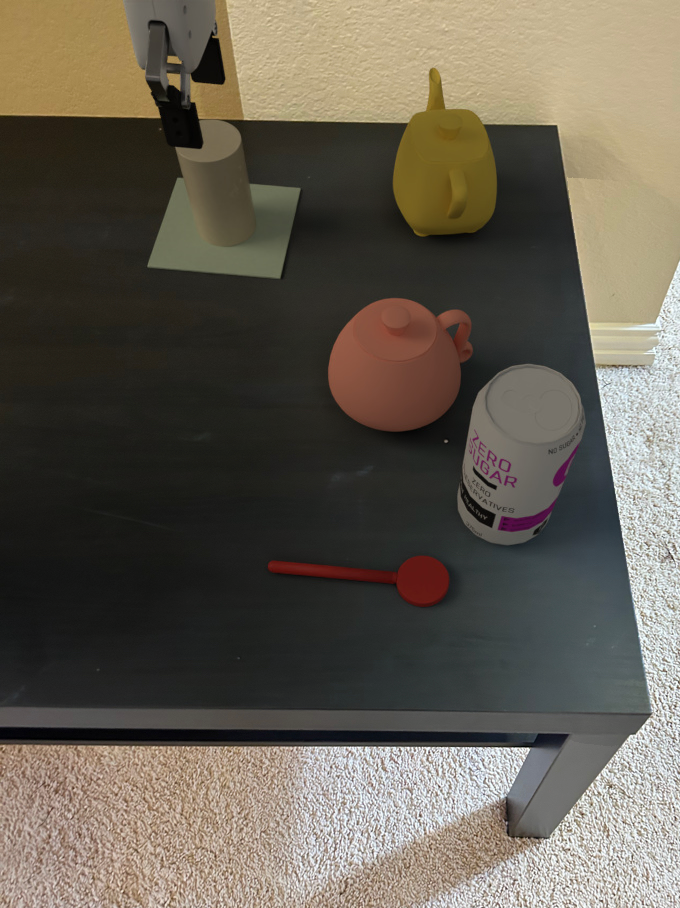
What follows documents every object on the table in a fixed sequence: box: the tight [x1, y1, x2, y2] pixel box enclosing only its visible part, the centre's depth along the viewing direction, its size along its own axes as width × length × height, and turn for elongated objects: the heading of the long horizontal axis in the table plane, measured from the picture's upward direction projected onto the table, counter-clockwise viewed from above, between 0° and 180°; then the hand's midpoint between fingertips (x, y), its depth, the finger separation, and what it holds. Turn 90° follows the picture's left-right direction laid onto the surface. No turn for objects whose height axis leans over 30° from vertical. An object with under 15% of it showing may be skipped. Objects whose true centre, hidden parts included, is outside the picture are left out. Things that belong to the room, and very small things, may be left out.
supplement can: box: [456, 363, 587, 546], centre depth 60 cm, size 8×8×15 cm
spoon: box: [267, 555, 450, 608], centre depth 63 cm, size 15×4×1 cm, turn 85°
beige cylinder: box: [174, 119, 256, 246], centre depth 77 cm, size 6×6×10 cm
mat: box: [146, 177, 302, 280], centre depth 82 cm, size 14×14×1 cm
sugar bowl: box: [327, 297, 474, 433], centre depth 68 cm, size 12×14×10 cm
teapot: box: [392, 67, 498, 237], centre depth 79 cm, size 18×11×11 cm, turn 8°
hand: (198, 112), depth 70 cm, fingers open, 9 cm apart
